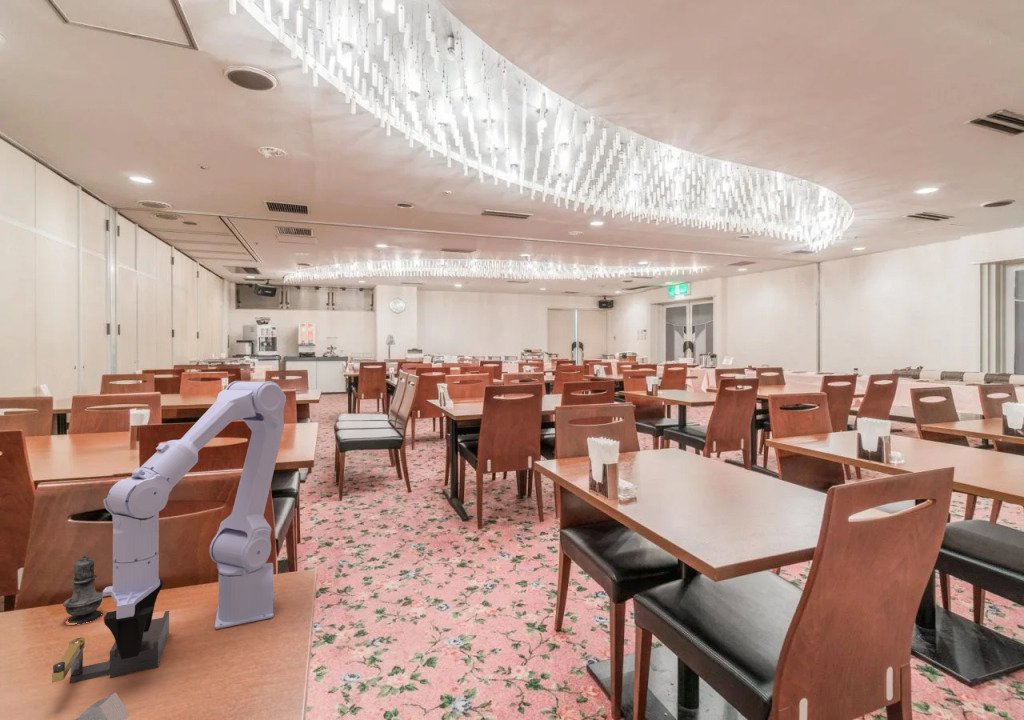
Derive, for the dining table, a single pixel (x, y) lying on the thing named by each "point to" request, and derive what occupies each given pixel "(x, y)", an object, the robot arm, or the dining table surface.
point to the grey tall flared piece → (84, 593)
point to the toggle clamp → (118, 667)
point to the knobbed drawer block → (106, 710)
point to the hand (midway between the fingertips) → (135, 643)
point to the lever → (67, 659)
